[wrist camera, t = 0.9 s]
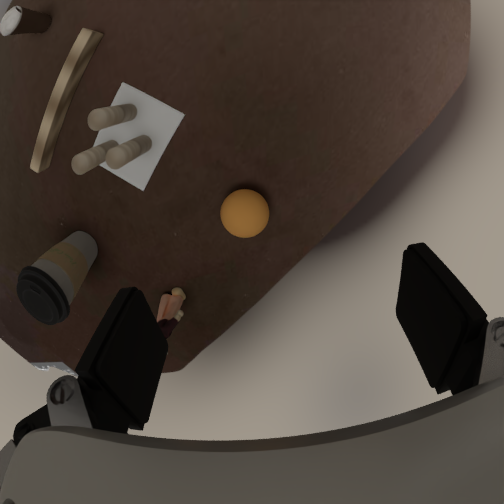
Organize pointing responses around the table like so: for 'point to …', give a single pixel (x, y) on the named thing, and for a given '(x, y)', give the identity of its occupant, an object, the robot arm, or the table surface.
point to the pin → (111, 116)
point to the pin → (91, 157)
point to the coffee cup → (56, 278)
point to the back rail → (63, 97)
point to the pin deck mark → (141, 133)
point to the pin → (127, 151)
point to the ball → (244, 213)
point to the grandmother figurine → (170, 311)
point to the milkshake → (24, 21)
